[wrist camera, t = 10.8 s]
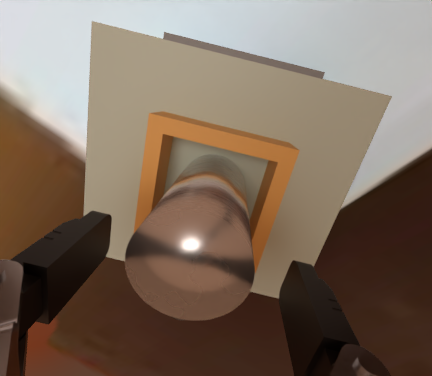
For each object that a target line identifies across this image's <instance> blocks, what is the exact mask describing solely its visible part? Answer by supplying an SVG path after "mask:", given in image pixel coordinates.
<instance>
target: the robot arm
mask: <svg viewBox="0 0 432 376" xmlns="http://www.w3.org/2000/svg"><path fill="white" fill-rule="evenodd" d="M111 223H112V217H111V215H110V214H105V213H101V212H97V211H90V212H89V213H88V214H86V215H85V216H84V217H82V218H81V219H74V220H71V221H68V222H65V223H63V224H61V225H60V226H58V227H57V228H55V229H54V230H53V231H52V232H50V233H48V234H47V235H45V236H44V238H41V239H40V240H38V241H37V242H35V243H34V244H32V245H31V246H30V247H28V248H27V249H25V250H24V251H22V252H21V253H20V254H18V255H17V256H15V257H14V258H12V259H11V260H0V376H25V366H26V353H27V340H28V329H29V328H30V327H31V326H32V325H33V324H34V323H35V321H36V322H40V323H45V324H49V323H50V322H51V321H52V320H53V319H54V318H55V316H56V315H57V314H58V313H59V312H60V311H61V309H62V308H63V307H64V306H65V305H66V303H67V302H68V301H69V300H70V299H71V298H72V296H73V295H74V294H75V293H76V292H77V290H78V289H79V288H80V287H81V286H82V285H83V283H84V282H85V281H86V280H87V279H88V277H89V276H90V275H91V274H92V273H93V272H94V270H95V269H96V268H97V267H98V266H99V264H100V263H101V262H102V261H103V260H104V258H105V257H106V255H107V253H108V250H109V246H110V236H111ZM279 304H280V309H281V314H282V319H283V323H284V328H285V333H286V338H287V342H288V347H289V352H290V357H291V362H292V366H293V371H294V376H391V375H390V373H389V371H388V370H387V368H386V367H385V366H384V364H383V363H382V362H381V361H380V360H379V359H378V358H377V357H376V356H375V355H373V354H372V353H371V352H369V351H368V350H366V349H365V348H363V347H361V346H360V345H359V343H358V341H357V339H356V337H355V335H354V333H353V331H352V329H351V327H350V325H349V323H348V321H347V319H346V317H345V315H344V313H343V312H342V309H341V307H340V305H339V303H337V299H336V297H335V295H334V293H333V291H332V289H331V288H330V287H329V286H328V285H327V284H326V283H325V282H324V281H323V279H319V278H318V276H317V274H316V272H315V270H314V267H313V266H312V265H311V264H307V263H303V262H299V261H295V260H293V261H292V262H291V264H290V266H289V269H288V271H287V273H286V276H285V278H284V281H283V283H282V286H281V288H280V292H279Z"/></svg>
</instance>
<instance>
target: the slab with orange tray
mask: <svg viewBox="0 0 432 376" xmlns="http://www.w3.org/2000/svg"><path fill="white" fill-rule="evenodd" d="M324 73H325V72H321V71H317V70H313V69H309V68H305V67H301V66H297V65H293V64H289V63H285V62H281V61H277V60H273V59H269V58H265V57H261V56H257V55H253V54H249V53H245V52H241V51H237V50H233V49H229V48H225V47H221V46H217V45H213V44H209V43H205V42H202V41H198V40H194V39H190V38H186V37H182V36H178V35H174V34H170V33H166V32H164V38H163V39H161V38H157V37H153V36H149V35H145V34H141V33H137V32H133V31H129V30H125V29H121V28H117V27H113V26H109V25H105V24H101V23H97V22H93V21H92V32H91V56H90V79H89V103H88V126H87V150H86V173H85V196H84V216H85V215H86V214H88V213H89V212H90V211H97V212H101V213H105V214H110V215H111V217H112V223H111V236H110V246H109V250H108V253H107V255H106V257H110V258H114V259H118V260H122V261H125V253H126V248H127V245H128V243H129V241H130V239H131V237H132V235H133V234H134V233H135V231H136V230H137V229H138V228H139V226H140V225H141V224H142V223H143V221H144V220H145V219H146V217H147V216H148V215H149V214H150V212H151V211H152V210H153V209H154V207H155V206H156V205H157V203H158V202H159V201H160V200H161V198H162V197H163V196H164V195H165V193H166V192H167V191H168V189H169V188H170V187H171V186H172V184H173V183H174V182H175V181H176V179H177V178H178V177H179V175H180V174H181V173H182V172H183V170H184V169H185V168H186V167H187V165H188V164H189V163H190V162H191V161H193V160H194V159H196V158H198V157H200V156H203V155H208V154H216V155H221V156H224V157H226V158H228V159H230V160H231V161H233V162H234V163H235V164H236V165H237V166H238V167H239V169H240V170H241V172H242V174H243V177H244V181H245V189H246V197H247V206H248V214H249V223H250V231H251V240H252V248H253V257H254V266H255V276H254V282H253V285H252V288H251V290H250V292H254V293H258V294H262V295H266V296H270V297H275V298H279V292H280V288H281V286H282V283H283V281H284V278H285V276H286V273H287V271H288V269H289V266H290V264H291V262H292V261H293V260H295V261H299V262H303V263H307V264H311V265H312V266H313V267H314V265H315V262H316V260H317V258H318V256H319V254H320V252H321V249H322V247H323V245H324V243H325V241H326V238H327V236H328V234H329V232H330V230H331V228H332V225H333V223H334V221H335V219H336V217H337V215H338V212H339V210H340V208H341V206H342V204H343V202H344V199H345V197H346V195H347V193H348V191H349V189H350V186H351V184H352V182H353V180H354V178H355V175H356V173H357V171H358V169H359V167H360V165H361V162H362V160H363V158H364V156H365V154H366V152H367V149H368V147H369V145H370V143H371V141H372V139H373V136H374V134H375V132H376V130H377V128H378V125H379V123H380V121H381V119H382V117H383V115H384V112H385V110H386V108H387V106H388V104H389V102H390V99H391V97H392V96H388V95H384V94H380V93H376V92H372V91H368V90H364V89H360V88H356V87H352V86H348V85H344V84H340V83H336V82H332V81H328V80H324V79H323V76H324Z"/></svg>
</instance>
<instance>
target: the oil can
mask: <svg viewBox="0 0 432 376" xmlns="http://www.w3.org/2000/svg"><path fill="white" fill-rule="evenodd" d="M125 268H126V272H127V276H128V279H129V281H130V283H131V285H132V287H133V288H134V290H135V291H136V292H137V294H138V295H139V296H140V297H141V298H142V299H143V300H144V301H145V302H146V303H147V304H149V305H150V306H151V307H153V308H154V309H156V310H158V311H160V312H162V313H164V314H166V315H169V316H171V317H173V318H174V319H176V320H209V319H213V318H217V317H220V316H223V315H225V314H227V313H229V312H231V311H232V310H234V309H235V308H236V307H238V306H239V305H240V304H241V303H242V302H243V301H244V300H245V298H246V297H247V295H248V294H249V292H250V290H251V288H252V285H253V282H254V276H255V266H254V257H253V248H252V240H251V231H250V223H249V214H248V206H247V197H246V189H245V181H244V177H243V174H242V172H241V170H240V169H239V167H238V166H237V165H236V164H235V163H234V162H233V161H231V160H230V159H228V158H226V157H224V156H221V155H216V154H208V155H203V156H200V157H198V158H196V159H194V160H193V161H191V162H190V163H189V164H188V165H187V167H186V168H185V169H184V170H183V172H182V173H181V174H180V175H179V177H178V178H177V179H176V181H175V182H174V183H173V184H172V186H171V187H170V188H169V189H168V191H167V192H166V193H165V195H164V196H163V197H162V198H161V200H160V201H159V202H158V203H157V205H156V206H155V207H154V209H153V210H152V211H151V212H150V214H149V215H148V216H147V217H146V219H145V220H144V221H143V223H142V224H141V225H140V226H139V228H138V229H137V230H136V231H135V233H134V234H133V235H132V237H131V239H130V241H129V243H128V245H127V248H126V253H125Z"/></svg>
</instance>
